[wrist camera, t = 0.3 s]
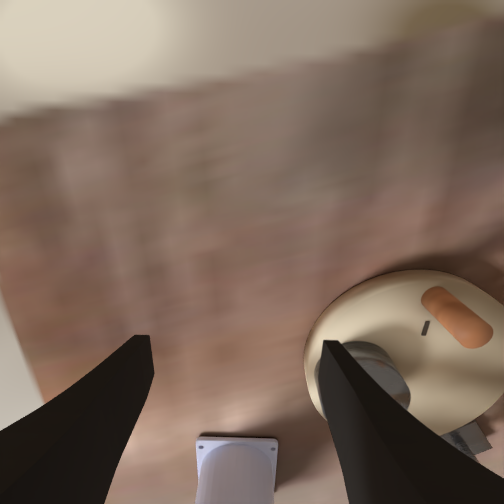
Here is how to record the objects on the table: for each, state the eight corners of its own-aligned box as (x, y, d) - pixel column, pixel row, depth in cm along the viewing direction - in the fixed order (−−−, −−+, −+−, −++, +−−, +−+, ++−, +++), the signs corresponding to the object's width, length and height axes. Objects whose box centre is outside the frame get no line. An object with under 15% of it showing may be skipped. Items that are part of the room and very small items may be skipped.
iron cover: (383, 401, 23) (403, 442, 20) (310, 399, 23) (319, 440, 20) (400, 341, 21) (425, 378, 18) (318, 339, 21) (330, 375, 18)
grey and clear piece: (484, 437, 28) (551, 525, 22) (441, 454, 29) (493, 543, 23) (462, 403, 26) (528, 488, 20) (417, 423, 27) (466, 510, 21)
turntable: (464, 424, 27) (518, 499, 22) (295, 419, 27) (306, 493, 22) (532, 272, 21) (631, 321, 15) (314, 266, 21) (335, 313, 15)
